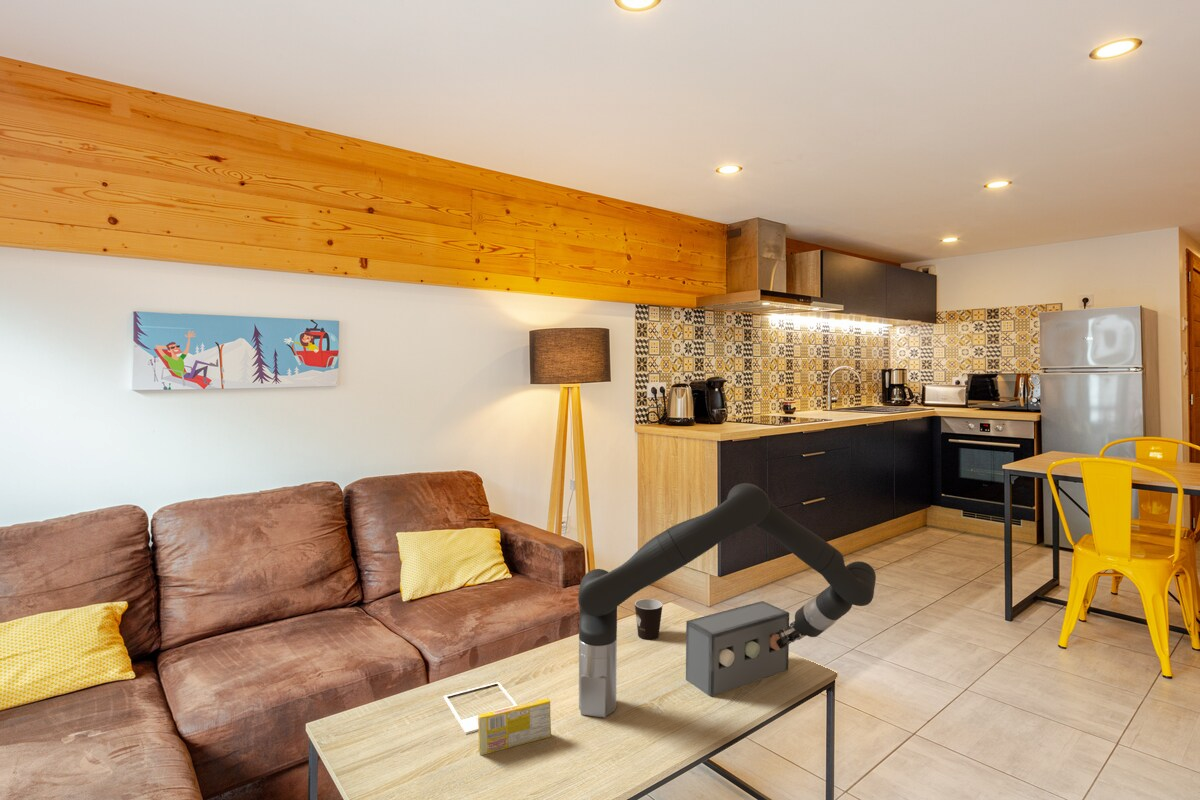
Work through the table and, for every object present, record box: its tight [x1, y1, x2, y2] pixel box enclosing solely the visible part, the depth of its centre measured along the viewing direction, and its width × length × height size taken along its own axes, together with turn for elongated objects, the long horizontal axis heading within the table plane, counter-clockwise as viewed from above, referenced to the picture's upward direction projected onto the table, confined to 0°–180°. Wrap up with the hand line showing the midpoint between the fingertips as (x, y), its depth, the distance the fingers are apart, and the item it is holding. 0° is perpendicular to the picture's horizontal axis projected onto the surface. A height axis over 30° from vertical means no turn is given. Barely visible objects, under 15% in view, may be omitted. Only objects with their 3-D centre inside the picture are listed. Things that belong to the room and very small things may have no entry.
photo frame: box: [443, 681, 518, 735], centre depth 153 cm, size 15×1×18 cm
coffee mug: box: [634, 598, 664, 641], centre depth 195 cm, size 12×9×10 cm
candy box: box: [477, 697, 552, 756], centre depth 138 cm, size 16×2×8 cm, turn 115°
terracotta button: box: [769, 633, 780, 650], centre depth 172 cm, size 7×4×4 cm, turn 31°
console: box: [685, 600, 790, 697], centre depth 169 cm, size 10×28×16 cm, turn 121°
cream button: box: [719, 648, 734, 667], centre depth 162 cm, size 7×4×4 cm, turn 31°
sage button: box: [745, 640, 760, 658], centre depth 167 cm, size 7×4×4 cm, turn 31°
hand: (779, 644), depth 168 cm, fingers closed
